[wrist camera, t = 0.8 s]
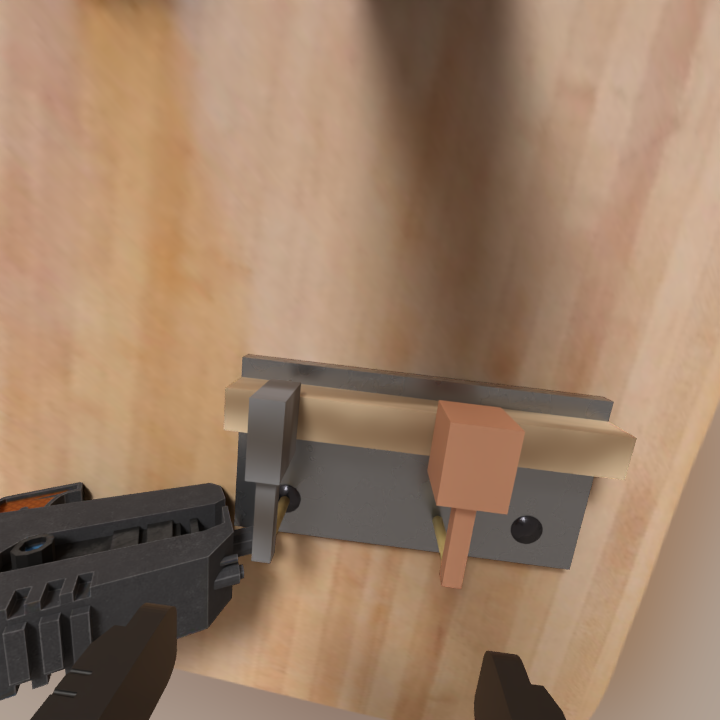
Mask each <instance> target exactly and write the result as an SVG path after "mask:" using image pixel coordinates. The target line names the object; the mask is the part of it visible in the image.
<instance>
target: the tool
mask: <svg viewBox="0 0 720 720" xmlns="http://www.w3.org/2000/svg"><path fill="white" fill-rule="evenodd" d="M252 542H253V526H250V527H246V528H241V529H236V530H233V527H232V523H231V519H230V515H229V511H228V506H225V496H224V493H223V491H222V488H221V486H219V485H215V484H212V483H207V484H200V485H193V486H186V487H179V488H171V489H164V490H157V491H150V492H143V493H136V494H129V495H122V496H115V497H108V498H101V499H94V500H87V501H84V496H83V483H81V482H79V483H73V484H68V485H63V486H58V487H53V488H48V489H43V490H37V491H32V492H27V493H22V494H17V495H12V496H6V497H3V498H1V499H0V700H3V699H5V698H9V697H12V696H15V695H16V694H17V691H18V689H19V686H20V684H22V683H25V682H27V681H30V680H32V688H33V689H35V688H38V687H41V686H44V685H46V684H48V682H49V679H50V676H51V673H54V672H57V671H60V670H63V669H65V672H66V674H67V673H69V672H70V671H71V668H72V666H73V665H74V664H75V663H76V661H77V660H78V659H79V658H80V656H81V655H82V654H83V653H84V651H85V650H86V649H87V648H88V646H89V645H90V644H91V643H92V642H93V641H95V640H96V639H97V638H99V637H100V636H101V635H102V634H104V633H105V632H106V631H108V630H109V629H110V628H111V627H113V626H114V625H118V626H125V627H126V625H127V624H128V623H129V621H130V620H131V619H132V617H133V616H134V614H135V613H136V612H137V610H138V609H139V608H140V607H141V606H142V605H143V604H144V603H153V604H160V605H167V606H175V607H176V610H177V639H178V638H181V637H184V636H187V635H190V634H193V633H196V632H198V631H201V630H204V629H207V628H208V627H209V626H210V625H211V623H212V622H213V621H214V620H215V618H216V617H217V616H218V615H219V613H220V612H221V611H222V610H223V608H224V607H225V606H226V605H227V603H228V602H229V601H230V599H231V598H232V585H235V584H239V583H240V579H242V578H244V568H243V565H239V564H238V557H240V556H244V555H248V554H252Z"/></svg>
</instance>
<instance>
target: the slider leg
mask: <svg viewBox="0 0 720 720" xmlns="http://www.w3.org/2000/svg"><path fill="white" fill-rule="evenodd" d="M524 435H525V431H524V430H523V429H522V428H521V427H520V426H519V425H518V424H517V423H516V422H515V421H514V420H513V419H512V418H511V417H510V416H509V415H508V414H507V413H506V412H505V411H504V410H503V409H502V408H501V407H492V406H484V405H476V404H468V403H460V402H451V401H443V400H439V402H438V408H437V414H436V420H435V426H434V432H433V439H432V445H431V451H430V457H429V463H428V469H427V472H428V476H429V479H430V483H431V487H432V491H433V494H434V498H435V502H436V506H444V507H451V512H450V518H449V523H448V529H447V533H446V530H445V526H444V523H443V519H442V517H440V516H435V517H434V518H433V520H432V522H433V526H434V530H435V535H436V539H437V543H438V548H439V552H440V556H441V561H442V562H441V567H440V573H439V575H440V580H441V585H442V586H443V587H450V588H458V589H461V587H462V582H463V577H464V572H465V567H466V562H467V557H468V552H469V547H470V542H471V537H472V531H473V526H474V521H475V516H476V511H483V512H491V513H499V514H506V515H507V514H508V509H509V505H510V500H511V495H512V491H513V486H514V481H515V477H516V472H517V468H518V463H519V458H520V454H521V449H522V444H523V440H524Z"/></svg>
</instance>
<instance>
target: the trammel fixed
mask: <svg viewBox="0 0 720 720" xmlns="http://www.w3.org/2000/svg"><path fill="white" fill-rule="evenodd" d="M438 402H439V401H436V400H428V399H420V398H412V397H403V396H395V395H387V394H379V393H371V392H362V391H354V390H346V389H338V388H330V387H321V386H313V385H305V384H301V382H295V381H286V380H278V379H270V380H264V379H256V378H248V377H241V378H239V379H238V380H236V381H235V382H233V383H232V384H230V385H229V386H227V387H226V388H225V410H224V430H228V431H236V432H244V433H247V450H246V468H245V481H250V482H256V494H255V510H254V526H253V542H252V559H251V561H256V562H263V563H271V560H272V557H273V555H274V552H275V540H276V535H277V532H278V530H279V527H280V525H281V522H282V520H283V517H284V515H285V513H286V510H287V508H288V505H289V503H290V499H289V498H288V497H287V496H282V497H281V498H280V500H279V487H280V483H281V481H282V479H283V477H284V475H285V473H286V471H287V469H288V467H289V465H290V463H291V460H292V458H293V456H294V454H295V450H296V439H299V440H307V441H315V442H323V443H331V444H339V445H347V446H355V447H363V448H371V449H379V450H387V451H395V452H403V453H411V454H419V455H427V456H430V451H431V445H432V439H433V432H434V426H435V420H436V414H437V408H438ZM503 410H504V411H505V412H506V413H507V414H508V415H509V416H510V417H511V418H512V419H513V420H514V421H515V422H516V423H517V424H518V425H519V426H520V427H521V428H522V429H523V430H524V431H525V435H524V440H523V444H522V449H521V454H520V458H519V463H518V467H522V468H530V469H538V470H546V471H554V472H562V473H570V474H578V475H586V476H594V477H602V478H610V479H618V480H625V478H626V474H627V471H628V467H629V463H630V460H631V456H632V453H633V449H634V446H635V442H636V439H637V438H635V437H634V436H632V435H630V434H629V433H627V432H625V431H624V430H622V429H620V428H618V427H617V426H615V425H613V424H612V423H610V422H608V421H600V420H592V419H584V418H575V417H567V416H559V415H551V414H543V413H534V412H526V411H518V410H510V409H503ZM278 500H279V502H278Z"/></svg>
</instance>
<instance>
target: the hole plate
mask: <svg viewBox="0 0 720 720" xmlns="http://www.w3.org/2000/svg"><path fill="white" fill-rule="evenodd" d="M242 377H248V378H256V379H264V380H270V379H278V380H286V381H295V382H301V384H305V385H313V386H321V387H330V388H338V389H346V390H354V391H362V392H371V393H379V394H387V395H395V396H403V397H412V398H420V399H428V400H436V401H439V400H443V401H451V402H460V403H468V404H476V405H484V406H492V407H501V408H502V409H510V410H518V411H526V412H534V413H543V414H551V415H559V416H567V417H575V418H584V419H592V420H600V421H609V417H610V413H611V410H612V406H613V401H611V400H609V399H607V398H605V397H600V396H592V395H583V394H575V393H567V392H559V391H550V390H542V389H534V388H525V387H517V386H509V385H500V384H492V383H484V382H476V381H467V380H459V379H451V378H442V377H434V376H426V375H417V374H409V373H401V372H393V371H384V370H376V369H368V368H359V367H351V366H343V365H334V364H326V363H318V362H310V361H301V360H293V359H285V358H276V357H268V356H260V355H251V354H247V355H246V356H244V357H243V359H242ZM246 450H247V433H244V432H239V440H238V460H237V481H236V501H235V521H234V526H242V527H250V526H254V510H255V494H256V482H250V481H245V468H246ZM429 457H430V456H427V455H419V454H411V453H403V452H395V451H387V450H379V449H371V448H363V447H355V446H347V445H339V444H331V443H323V442H315V441H307V440H299V439H296V450H295V454H294V456H293V458H292V460H291V463H290V465H289V467H288V469H287V471H286V473H285V475H284V477H283V479H282V481H281V483H280V487H279V500H280V498H281V497H282V496H287V497H288V498H289V499H290V503H289V505H288V508H287V510H286V513H285V515H284V517H283V520H282V522H281V525H280V527H279V530H278V531H280V532H288V533H295V534H303V535H310V536H318V537H326V538H333V539H341V540H348V541H356V542H363V543H371V544H379V545H386V546H394V547H401V548H409V549H417V550H424V551H432V552H439V548H438V543H437V539H436V535H435V530H434V526H433V522H432V520H433V518H434V517H435V516H440V517H442V519H443V523H444V526H445V530H446V533H447V529H448V523H449V518H450V512H451V507H444V506H436V502H435V498H434V494H433V491H432V487H431V483H430V479H429V476H428V472H427V469H428V463H429ZM593 478H594V476H586V475H578V474H570V473H562V472H554V471H546V470H538V469H530V468H522V467H518V468H517V472H516V477H515V481H514V486H513V491H512V495H511V500H510V505H509V509H508V514H507V515H506V514H499V513H491V512H483V511H476V516H475V521H474V526H473V531H472V537H471V542H470V547H469V552H468V556H470V557H477V558H485V559H493V560H500V561H508V562H515V563H523V564H531V565H538V566H546V567H553V568H561V569H569V570H570V566H571V562H572V558H573V554H574V551H575V547H576V543H577V539H578V535H579V532H580V528H581V524H582V520H583V516H584V512H585V509H586V505H587V501H588V497H589V493H590V490H591V486H592V482H593ZM279 500H278V502H279ZM439 553H440V552H439Z"/></svg>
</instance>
